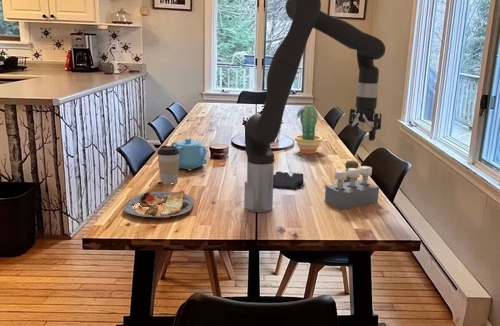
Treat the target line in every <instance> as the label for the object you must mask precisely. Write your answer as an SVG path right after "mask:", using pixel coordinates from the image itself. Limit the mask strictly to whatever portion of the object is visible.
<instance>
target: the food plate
mask: <svg viewBox="0 0 500 326" xmlns="http://www.w3.org/2000/svg"><path fill="white" fill-rule="evenodd" d="M162 199H163V200H162ZM195 202H196V200H195V198H194V197H192V196H190V195H189V194H187V193H185V192H184V191H183V190H181V191H178V192H177V191H167V190H165V191H163V190H162V191H153V192H152V191H150V192H149V191H147V192H145V193H141V194H139V195H135V196H134V197H131V198H129V199H128V201H127V202H126V204H125V205H124V206H123V212H125V213H126V214H129V215H134V216H136V217H137V216H139V217H144V218H146V217H148V218H171V217H170V216H173V217H175V216H180V215H183V214H186V213H187V212H190V211H191V210H192V209H193V206H194V204H195ZM137 203H140V205H141V206H142V207H149V209H148V210H146V211H144V212H145V213H144V212H143V213H144V214H148V215H144V214H143V213H140V212H139V213H140V214H139V213H137V212H136V211H135V207H134V209H133V207H132V206H134V205H135V204H137ZM161 203H165V205H164V207H163V210H162V213H161V212H160V215H157V214H158V213H157V211H158V206H156V205H160V204H161ZM137 205H138V204H137ZM161 205H162V204H161ZM135 206H136V205H135ZM156 213H157V214H156ZM155 214H156V215H155ZM149 215H150V216H149ZM151 215H155V216H151Z"/></svg>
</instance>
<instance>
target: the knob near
mask: <svg viewBox="0 0 500 326" xmlns="http://www.w3.org/2000/svg"><path fill="white" fill-rule="evenodd" d="M334 179H335V180H337V183H336V184H337V190H339V191H342V190H343V182H344V180H346V179H347V171H346V170H344V169H343V170H342V169H337V170H335V171H334Z"/></svg>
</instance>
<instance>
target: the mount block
mask: <svg viewBox="0 0 500 326" xmlns="http://www.w3.org/2000/svg"><path fill="white" fill-rule="evenodd" d="M337 184H338V183H336V184H329V185H326V186H325V193H324V202H325V203H328V204H330V205H332V206H334V207H336V208H337V209H340V210H343V211H344V210H348V209H354V208H358V207H363V206H367V205H372V204H377V203H378V202H379V200H378V199H379V192H380V191H379V190H380V187H379V186H378V185H375V184H371V183H369V182H367V186H362V179H357V181H356V183H355V188H350V182H346V183H343V190H342V191H339V190H337Z"/></svg>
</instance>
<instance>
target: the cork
mask: <svg viewBox="0 0 500 326" xmlns="http://www.w3.org/2000/svg"><path fill="white" fill-rule="evenodd" d="M344 166H345V171H347V172H348V169H349V168H356V169H359V162H357V161H356V160H347V161H346V162H345V165H344ZM357 180H358V178H356V181H357ZM346 182H350V177H348V176H347V179H346V180H343V183H346Z"/></svg>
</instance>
